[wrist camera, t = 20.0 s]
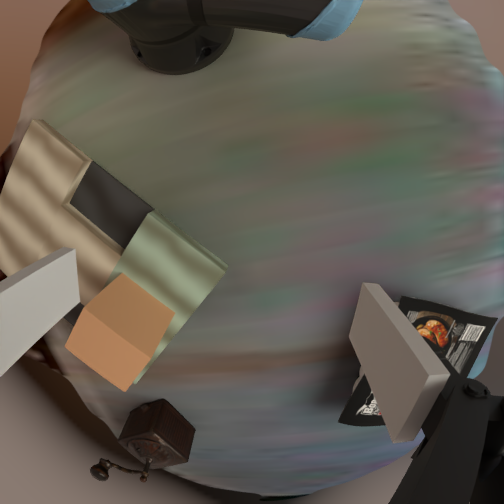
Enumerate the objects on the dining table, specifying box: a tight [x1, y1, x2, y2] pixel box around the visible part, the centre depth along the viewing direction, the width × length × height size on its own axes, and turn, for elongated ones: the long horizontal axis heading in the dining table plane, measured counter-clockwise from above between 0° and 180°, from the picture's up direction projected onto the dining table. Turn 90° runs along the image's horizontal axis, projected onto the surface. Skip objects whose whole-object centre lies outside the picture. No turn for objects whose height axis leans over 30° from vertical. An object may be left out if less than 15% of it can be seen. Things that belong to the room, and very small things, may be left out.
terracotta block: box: [65, 273, 175, 392], centre depth 40 cm, size 8×10×12 cm
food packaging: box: [338, 296, 498, 426], centre depth 47 cm, size 25×8×23 cm
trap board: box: [0, 119, 228, 384], centre depth 45 cm, size 28×40×3 cm
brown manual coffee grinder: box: [90, 399, 196, 482], centre depth 48 cm, size 16×11×18 cm
